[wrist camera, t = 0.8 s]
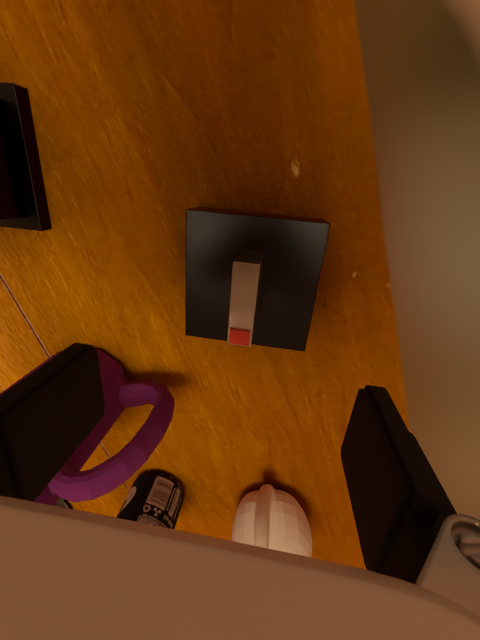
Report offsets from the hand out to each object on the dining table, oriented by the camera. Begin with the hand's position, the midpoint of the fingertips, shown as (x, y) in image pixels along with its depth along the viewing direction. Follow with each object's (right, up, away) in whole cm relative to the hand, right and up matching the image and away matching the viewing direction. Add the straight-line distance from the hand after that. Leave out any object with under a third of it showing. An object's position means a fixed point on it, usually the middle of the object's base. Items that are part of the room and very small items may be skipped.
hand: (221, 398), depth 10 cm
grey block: (+1, +5, +12) cm, 13 cm away
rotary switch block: (+2, +7, +15) cm, 16 cm away
